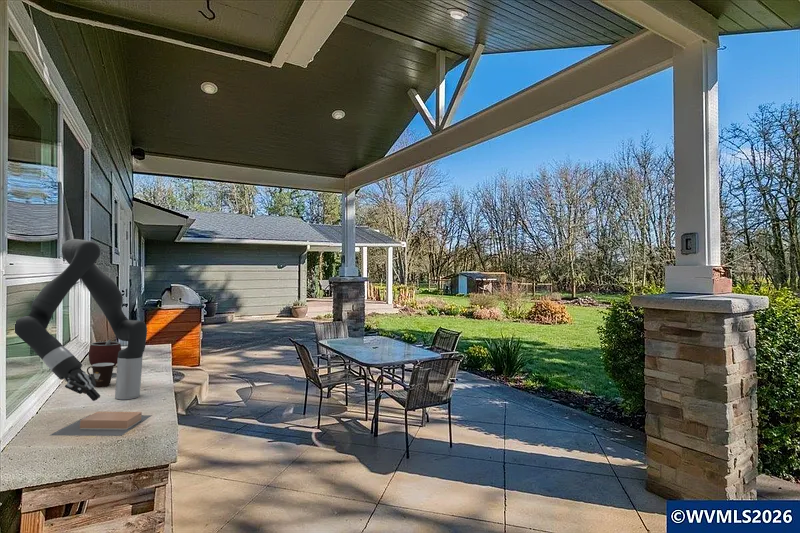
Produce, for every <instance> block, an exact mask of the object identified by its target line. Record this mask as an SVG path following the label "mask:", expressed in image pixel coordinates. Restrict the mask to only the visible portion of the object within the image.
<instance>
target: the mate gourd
mask: <svg viewBox="0 0 800 533" xmlns="http://www.w3.org/2000/svg"><path fill="white" fill-rule="evenodd" d="M120 350H122V344H121V342H119V341H112V340H111V339H108V340H107V341H96V342H92V343H90V346H89V351H88V361H89V364H90V366H92V365H93V364H98V363H114V367H117V362H118V352H119V351H120ZM116 376H117V372H116V373H114V372H112V377H111V379H113V378H116Z"/></svg>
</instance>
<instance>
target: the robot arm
mask: <svg viewBox="0 0 800 533" xmlns="http://www.w3.org/2000/svg"><path fill="white" fill-rule="evenodd" d="M61 254H62V256H63V258H64V260H65V261H66V262H67V264H68V266H67V267H66V268H65V269H64V270H63V271H62V272H61V273H60V274H58V275H57V276H55V278H54V279H52V280H51V281H49V282H48V283H47V284H45V286H44V287H43V288H42V289H41V290H40V292H39V293H38V294H37V296H36V298H34V300H33V302H32V303H31V305H30V306H31V311H30V313H28V316H27V315H26V316H21V317H19V318H18V319H16V320H15V321H16V324H15V332H14V333H15V334H16V335H17V336H18V337H19V339H21V340H22V341H23V342H24V343H25V344H27V345H28V346H29V347H30V348H31V349H32V351H34V352H35V354H36V355H37V356H38V357H39V358H40V359H41V360H42V361H43V362H44V364H45V365H46V367H47V368H48V369H49V370H50V371H51V372H52V373H53V374H54V375H55V376H56V377H57V378H58V380H60V381H61V380H62V381H63V380H65V382H66V384H65V385H64V387H65V388H66V389H68V390H70V391H73V392H75V393H77V394H80V395H81V394H84V395H87V396H88V397H89V398H90V400H91V401H93V402H95V401H97V400H98V399H99V398H101V394H100V393H98V391H97V390H96V389H95V388H96V387H95V386H96V383H95V379H94V375H93V373H90V375H89V374H88V373H86V371H84V370H83V369H82V367H83V363H82V362H81V361H80V360H78V358H77V357H76V355H74V354H73V353H72V352H71V351H70V350H69V349H68V348H66V347H65V346H64V345H63V344H62V343H61V342H60V341H59V340H58V339H57V338H56V337H55V336H54V335H52V334H51V333H50V332H48V330H47V328H48V326H49V324H50V322H51V320H52V317H53V315H54V313H55V311H56V310H57V309H58V308H59V306H60V305H61V304H62V302H63V300H64V298H65V297H66V296H67V295H68V292H70V290H71V289H72V288H73V287H74V285H76V284H77V283H78V281H79V280H81V281H82V283H83V284H84V286H85V288H86V289H87V290H88V291H89V293H90V295H91V297H92V298H93V299H94V301H95V303H96V304H97V305H98V307H99V308H100V310H101V311H102V313H103V315H104V316H105V318H106V320H107V321H108V323H109V326H110V327H111V330H112V332H113V334H114V336H115V337H116V338H117V339H118V340H120V341H121V342H128V343H127V347H126V348H123V349H121V350H120V351H119V352H118V362H117V364H116V374H117V376H116V377H115V379H116V380H115V393H114V399H116V400H133V399H137V398H140V396H141V384H142V372H143V370H142V368H143V358H144V357H143V356H144V352H145V350H146V342H147V335H148V328H147V324H146V322H144V321H142V320H137V319H136V320H135V319H128V317H127V316H126V315H125V313H124V312H123V309H122V307H123V301H124V299H123V294H122V291H120V289H119V287H118V286H117V284H116V282H115V281H114V280H113V279H112V278H111V277H110V276H109V275H107V274H106V273H104V271H102V270H101V269H100V268H99V267H98V266H97V265H96V264H95V263H96V262H97V261H98V259H99V258H100V256H101V248H100V245H99V244H98V243H96V242H94V241H91V240H87V239H79V238H73V239H67V240H65V241H64V242H63V244H62V246H61Z"/></svg>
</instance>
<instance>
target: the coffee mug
mask: <svg viewBox="0 0 800 533" xmlns="http://www.w3.org/2000/svg"><path fill="white" fill-rule="evenodd" d="M114 367H115V366H114V363H98V364H93V365H90V366H88V367H87V368H86V372H87V373H86V374H87V375H90V374H91V373H90V372H89V370H90V368H91V369H92V374H93V375H94V379H95V383H96V386H95V387H94V388H108V387H110V386H111V382H112V378H111V377H112V373H114Z"/></svg>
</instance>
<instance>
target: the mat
mask: <svg viewBox="0 0 800 533" xmlns="http://www.w3.org/2000/svg"><path fill="white" fill-rule="evenodd" d="M90 415H91V414H89V415H86V416H84V417H83V418H81V419H79V420H76V421H75V422H73V423H70V424H69V425H67V426H64V427H63V428H61V429H59V430H57V431H55V432H53V433H51V434H49V436H76V437H77V436H78V437H80V436H81V437H82V436H85V437H86V436H88V437H89V436H90V437H91V436H93V437H94V436H97V437H100V436H101V437H107V436H108V437H122V436H123V435H125V434H127V433H128V432H130V431H132V430H133V429H134V428H136V427H138V426H139V425H140V424H142V423H143V422H145V421H146V420H148V419H149V418H151V417H153V415H145V414H143V415H141V421H139V422H138V423H136V424H135V425H133V426H132V427H130V428H129V429H127V430H119V429H80V420H82V419H84V418H86V417H88V416H90Z"/></svg>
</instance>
